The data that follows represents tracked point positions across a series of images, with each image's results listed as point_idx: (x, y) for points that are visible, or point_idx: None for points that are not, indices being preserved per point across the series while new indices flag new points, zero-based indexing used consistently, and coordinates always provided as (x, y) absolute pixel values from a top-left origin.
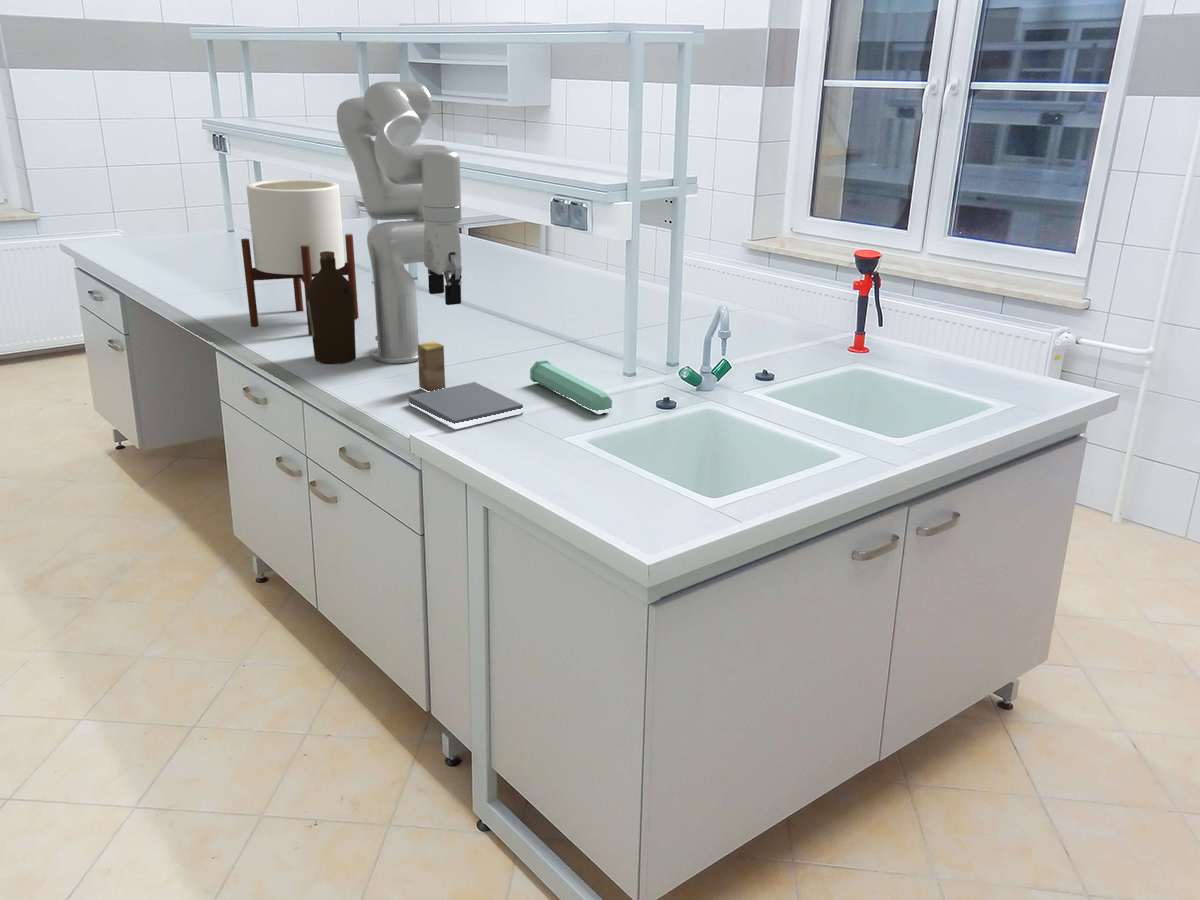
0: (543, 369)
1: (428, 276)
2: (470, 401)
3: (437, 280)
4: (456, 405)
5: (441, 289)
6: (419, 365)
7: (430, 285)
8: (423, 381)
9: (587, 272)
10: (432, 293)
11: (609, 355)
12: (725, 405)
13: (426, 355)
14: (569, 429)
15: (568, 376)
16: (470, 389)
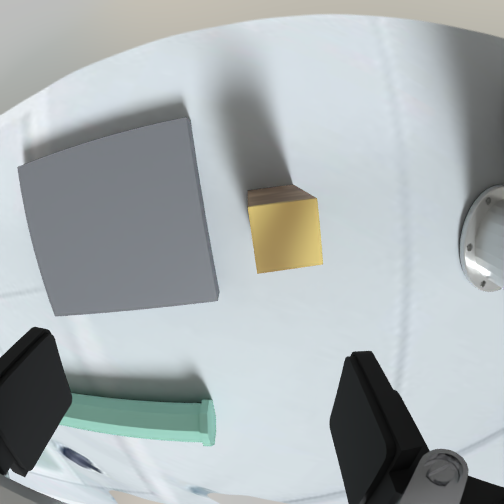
0: (177, 425)
1: (415, 436)
2: (94, 236)
3: (358, 460)
4: (81, 198)
5: (335, 427)
6: (297, 191)
7: (363, 393)
8: (274, 189)
9: None
10: (345, 365)
11: (291, 501)
12: (69, 482)
13: (253, 202)
14: (4, 329)
15: (116, 430)
16: (168, 270)
